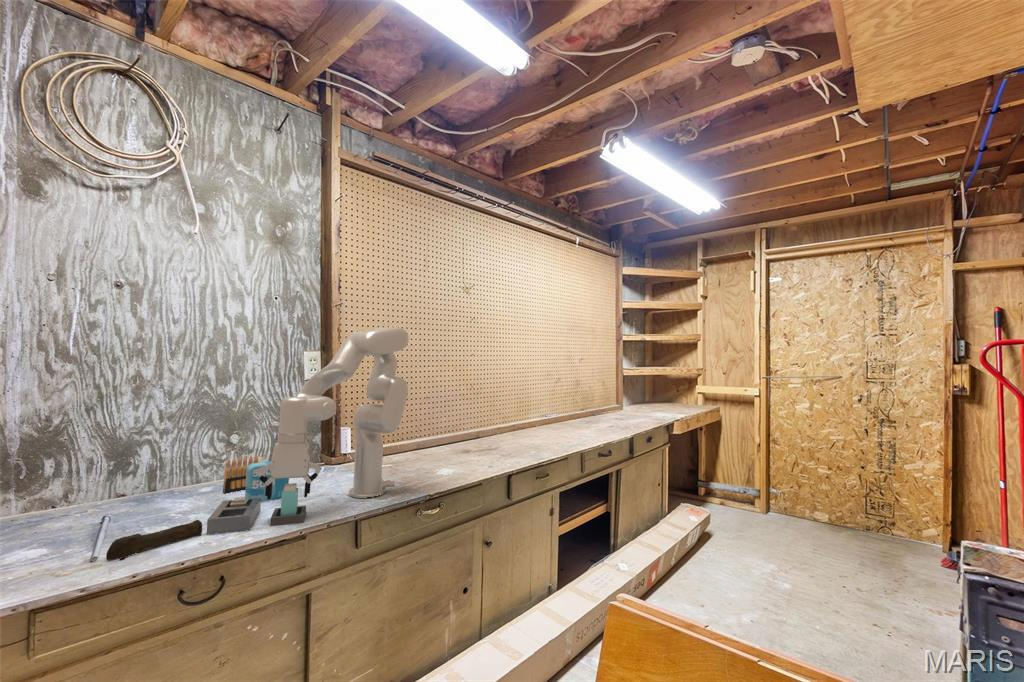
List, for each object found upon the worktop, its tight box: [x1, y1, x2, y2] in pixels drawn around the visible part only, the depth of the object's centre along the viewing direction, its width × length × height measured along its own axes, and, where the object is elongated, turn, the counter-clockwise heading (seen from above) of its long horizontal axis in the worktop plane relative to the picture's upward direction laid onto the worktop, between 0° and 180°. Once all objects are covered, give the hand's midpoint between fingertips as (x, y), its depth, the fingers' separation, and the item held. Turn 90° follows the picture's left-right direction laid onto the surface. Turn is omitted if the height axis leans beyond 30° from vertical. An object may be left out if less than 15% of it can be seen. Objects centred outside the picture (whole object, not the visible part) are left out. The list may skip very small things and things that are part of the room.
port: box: [206, 496, 262, 535], centre depth 124 cm, size 10×16×5 cm, turn 21°
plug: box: [280, 482, 299, 516], centre depth 127 cm, size 4×4×10 cm
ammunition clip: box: [222, 453, 259, 495], centre depth 153 cm, size 11×2×12 cm, turn 139°
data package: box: [244, 461, 290, 503], centre depth 144 cm, size 12×4×12 cm, turn 134°
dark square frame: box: [269, 505, 307, 527], centre depth 127 cm, size 8×8×2 cm
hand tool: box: [105, 519, 203, 561], centre depth 107 cm, size 19×4×5 cm, turn 147°
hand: (287, 497), depth 126 cm, fingers open, 9 cm apart
